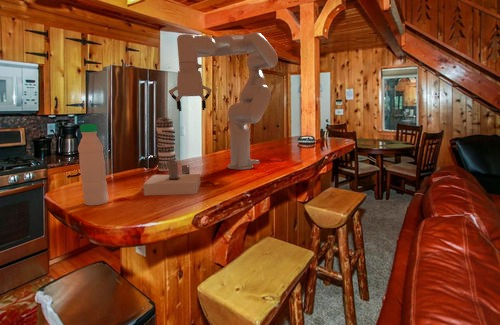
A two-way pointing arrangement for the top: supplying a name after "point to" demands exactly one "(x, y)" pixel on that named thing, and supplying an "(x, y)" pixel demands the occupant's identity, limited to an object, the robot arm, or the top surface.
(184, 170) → the short pin
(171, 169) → the long pin
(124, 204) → the top surface
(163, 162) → the decorative candle
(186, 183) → the hole board
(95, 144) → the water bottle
